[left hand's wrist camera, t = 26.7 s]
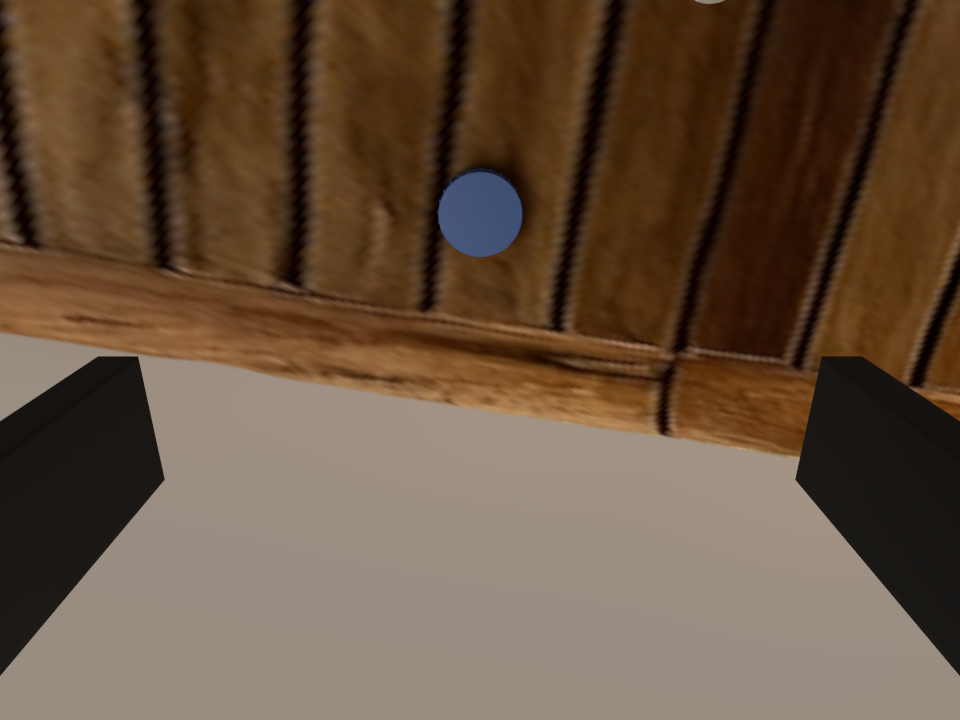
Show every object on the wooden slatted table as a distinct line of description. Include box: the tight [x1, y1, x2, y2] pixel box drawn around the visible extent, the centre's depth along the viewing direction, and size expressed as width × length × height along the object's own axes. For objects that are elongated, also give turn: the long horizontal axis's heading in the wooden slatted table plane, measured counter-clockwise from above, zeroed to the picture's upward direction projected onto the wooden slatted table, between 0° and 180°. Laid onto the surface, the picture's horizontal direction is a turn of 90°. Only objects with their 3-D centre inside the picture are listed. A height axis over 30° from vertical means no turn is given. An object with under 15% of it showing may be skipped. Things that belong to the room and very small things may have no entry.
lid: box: [438, 167, 523, 257], centre depth 39 cm, size 5×5×2 cm
